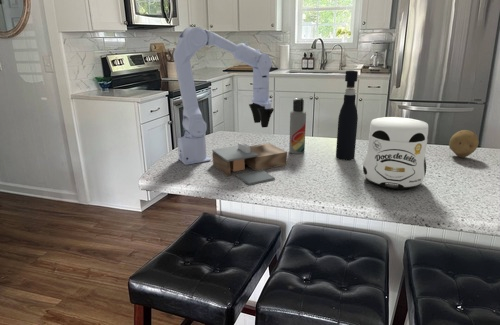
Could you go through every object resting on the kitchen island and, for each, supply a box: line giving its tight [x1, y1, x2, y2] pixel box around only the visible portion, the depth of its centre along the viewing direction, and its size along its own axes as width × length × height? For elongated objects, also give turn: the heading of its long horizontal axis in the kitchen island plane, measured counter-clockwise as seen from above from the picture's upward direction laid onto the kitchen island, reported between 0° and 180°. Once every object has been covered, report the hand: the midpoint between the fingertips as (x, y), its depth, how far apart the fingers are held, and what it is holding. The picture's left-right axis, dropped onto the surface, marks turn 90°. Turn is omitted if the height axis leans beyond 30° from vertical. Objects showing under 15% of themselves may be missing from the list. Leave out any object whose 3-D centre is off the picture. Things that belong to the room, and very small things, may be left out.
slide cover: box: [211, 141, 258, 162], centre depth 121 cm, size 11×12×3 cm
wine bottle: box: [335, 70, 359, 161], centre depth 127 cm, size 6×6×30 cm
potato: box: [448, 129, 480, 159], centre depth 129 cm, size 9×9×10 cm
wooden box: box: [211, 142, 288, 177], centre depth 125 cm, size 22×12×4 cm, turn 118°
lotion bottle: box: [288, 97, 307, 155], centre depth 135 cm, size 6×6×20 cm
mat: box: [236, 169, 276, 186], centre depth 114 cm, size 9×8×1 cm
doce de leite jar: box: [362, 116, 429, 190], centre depth 107 cm, size 17×17×18 cm
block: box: [229, 159, 246, 172], centre depth 122 cm, size 4×4×4 cm
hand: (260, 124), depth 138 cm, fingers open, 7 cm apart
